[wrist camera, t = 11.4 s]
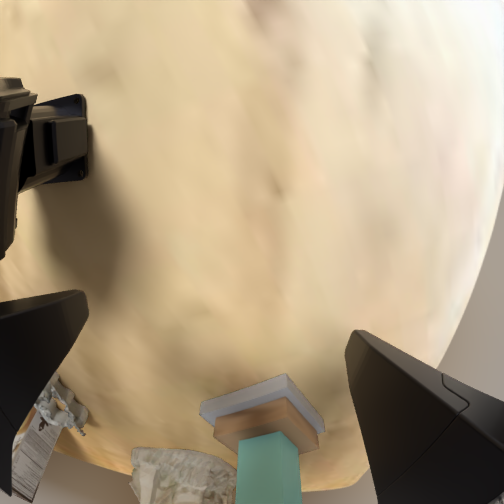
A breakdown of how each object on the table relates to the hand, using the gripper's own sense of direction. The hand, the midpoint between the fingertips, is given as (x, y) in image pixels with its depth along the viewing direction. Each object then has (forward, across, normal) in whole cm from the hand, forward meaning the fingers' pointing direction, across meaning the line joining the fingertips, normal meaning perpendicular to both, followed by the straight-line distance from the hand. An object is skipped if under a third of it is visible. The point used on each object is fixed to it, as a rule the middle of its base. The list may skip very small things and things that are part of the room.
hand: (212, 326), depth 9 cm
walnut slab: (+12, +5, -22) cm, 26 cm away
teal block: (+9, +5, -22) cm, 25 cm away
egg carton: (+13, -22, -27) cm, 37 cm away
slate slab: (+14, +5, -22) cm, 27 cm away
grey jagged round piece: (+14, -5, -42) cm, 44 cm away
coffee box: (+12, -29, -34) cm, 47 cm away
